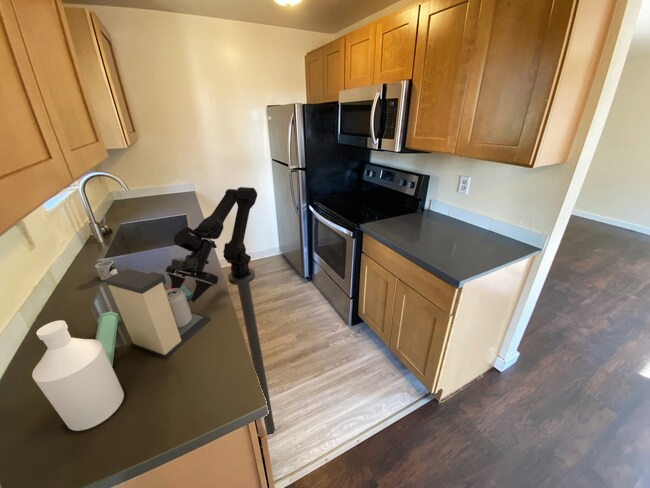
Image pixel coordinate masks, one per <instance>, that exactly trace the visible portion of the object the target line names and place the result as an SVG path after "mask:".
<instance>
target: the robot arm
mask: <svg viewBox="0 0 650 488" xmlns="http://www.w3.org/2000/svg"><path fill="white" fill-rule="evenodd" d="M257 198H258V192H257V190H256V189H255V187H249V186H239V187H237V188H236V189H235V188H228V189H226V190H225V193H224V195H223V197H222V198H221V200H220V201H219V203H218V204H217V205H216V207H215V209H214V210H213V211H212V213H211V214H210V215H209V216H207V217H206V218H205V217H204V219H202V221H201V222H200V223H199V224H198V226H196V227H195V228H194V229H192V228H191V227H189V226H184V227H183V228H182V229H181V230H179V231H178V232H177V233H176V234H174V236H173V243H174V245H175V246H178V247H179V248H182V249H184V250H186V251H189V252H190V254H186V256H185V258H172V259H171V264H169V265H168V266H166V268H165V273H166V275H167V276H169V279H170V281H171V285H170V287H171V289H173V288H179V289H180V287H181V286H183V284H184V282H185V281H186V278H185V277H190V278H195V288H194V291H193V293H192V295H193V296H192V298H191V299H190V300H191V302H192V303H195V302H196V301H197V300H198V299H199V298H200V297H201V296H202V295H203V294H204V293H205V292H206V291H207V290H208V289H210V287H214V285H218V282H219V277H218V275H216V274H213V273H210V272H207V271H204V269H205V266H206V265H209V264H210V261H209V260H208V259H209V256H210V253H211V252H212V249H217V244H216V242H215V240H219V238H220V237H221V235H222V233H223V230H224V222H225V221H226V219H227V217H228V216H229V214H230V213H231V211H232V209H233V208H234V206H235V205H236V206H237V208H236V214H235V219H234V224H233V229H232V234H231V239H230V241H228V242H225V243H224V248H223V251H222V253H223V258H224V259H225V261H226V263H227V264H230V273H231V272H232V275H233V276H234V277H235V278H237V279H241V278H243V277H246V276H248V275H251V272H249V268H250V266H249V264H250V262H251V259H252V256H250V255H249V254H248V253H246V251H247V248H246V245H245V242H244V241H245V236H246V231H247V226H248V220H249V216H250V211H251V209H252V208H253V206H254V205H255V204H256V201H257Z"/></svg>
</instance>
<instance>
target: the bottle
mask: <svg viewBox="0 0 650 488" xmlns="http://www.w3.org/2000/svg"><path fill="white" fill-rule="evenodd" d="M68 328H69V326H68V324H67V322H66V321H65V320H62V319H61V320H54V321H51V322H49V323H46V324H44V325H42V326H41V327H39V328H38V329H37V330H36V335H37V337H38V339H39V340H40V341H43V343H44V344H45V346H46V347H47V349H46V351H45V353H44V354H43V355H42V357H41V359H40V360H39V362H38V363H37V364H36V365H35V367H34V368H33V371H32V373H31V376H32V379H33V380H34V382H35V383H36V385H37V386H38V388H39V389H40V390H41V392H42V393H43V395H44V396H45V397H46V399H47V400H48V402H49V403H50V404H51V405H52V407H53V409H54V410H55V411H56V412H57V414H58V415H59V417H60V419H62V421H63V422H64V424H65V425H66V426H67V428H68V429H70V430H72V431H76V432H79V431H85V430H88V429H89V430H90V429H91V428H94V427H96V426H98V425H99V424H102V423H103V422H104V421H106V420H107V419H109V418H110V417H111V416H112V415H113V414H114V413H116V411H117V410H118V409H119V408H120V406H121V404H122V403H123V400H124V397H125V393H124V390H123V387H122V386H121V383H120V382H119V379H118V376H117V374H116V372H115V370H114V368H113V366H111V364H110V361H109V359H108V357H107V355H106V353H105V350H104V348H103V346H102V344H101V343H100V341H98V340H96V339H93V338H77V337H72V336H71V334H70V332H69V330H68Z"/></svg>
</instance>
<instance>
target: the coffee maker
mask: <svg viewBox="0 0 650 488" xmlns="http://www.w3.org/2000/svg"><path fill="white" fill-rule="evenodd" d="M103 281H104V282H105V284H106V285H107V286H108V288H109V291H110V293H111V295H112V297H113V300H114V302H115V304H116V307H117V309H118V312H119V314H120V316H121V319H122V320H123V323H124V326H125V328H126V331H127V333H128V335H129V337H130V340H131V344H132V346H133V347H137V348H139V349H142V350H145V351H147V352H150V353H152V354H155V355H157V356H160V357H163V358H166V359H169V358H170V357H171V356H172V355H173V354H174V353H175V352H177V350H178V349H180V348H181V347H182V346H183V345H184V344H186V343H187V342H188V341H189V340H190V339H191V338H193V337H194V336H195V335H196V334H197V333H198V332H199V331H200V330H202V329H203V328H204V327H205V326H206V325H208V324H209V323H210V322H211V321H212V317H210V316H207V315H204V314H200V313H196V312H193V311H190V312H191V315H192V319H191V321H190V322H189V323H188V324H187V325H186V326H184V327H181V328H177V326H176V322H175V319H174V316H173V313H172V310H171V307H170V304H169V301H168V298H167V295H166V292H165V291H166V289H165V286H164V285H166V284H167V280H166V277H165V275H164V274H163V273H157V272H155V271H154V272H153V271H151V272H150V273H148V272H143V271H139V270H136V269H131V268H125V269H123V270H121V271H119V272H118V273H117V274H115V275H113V276H111V277H109V278H106V279H104V280H103Z"/></svg>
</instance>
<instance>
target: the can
mask: <svg viewBox="0 0 650 488" xmlns="http://www.w3.org/2000/svg"><path fill="white" fill-rule="evenodd" d="M166 290H167V291H166ZM166 290H165V292H166V295H167V298H168V301H169V304H170V307H171V310H172V313H173V316H174V319H175V322H176V326H177V328H181V327H184V326H186V325H187V324H188V323H189V322H190V321H191V319H192V315H191V312H192V311H191V309H190V306H189V305H190V304H189V302H188V300H187V298H186V295H185V292H183V291H182V290H181V289H179V288H173V289H169V290H168V289H166Z"/></svg>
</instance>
